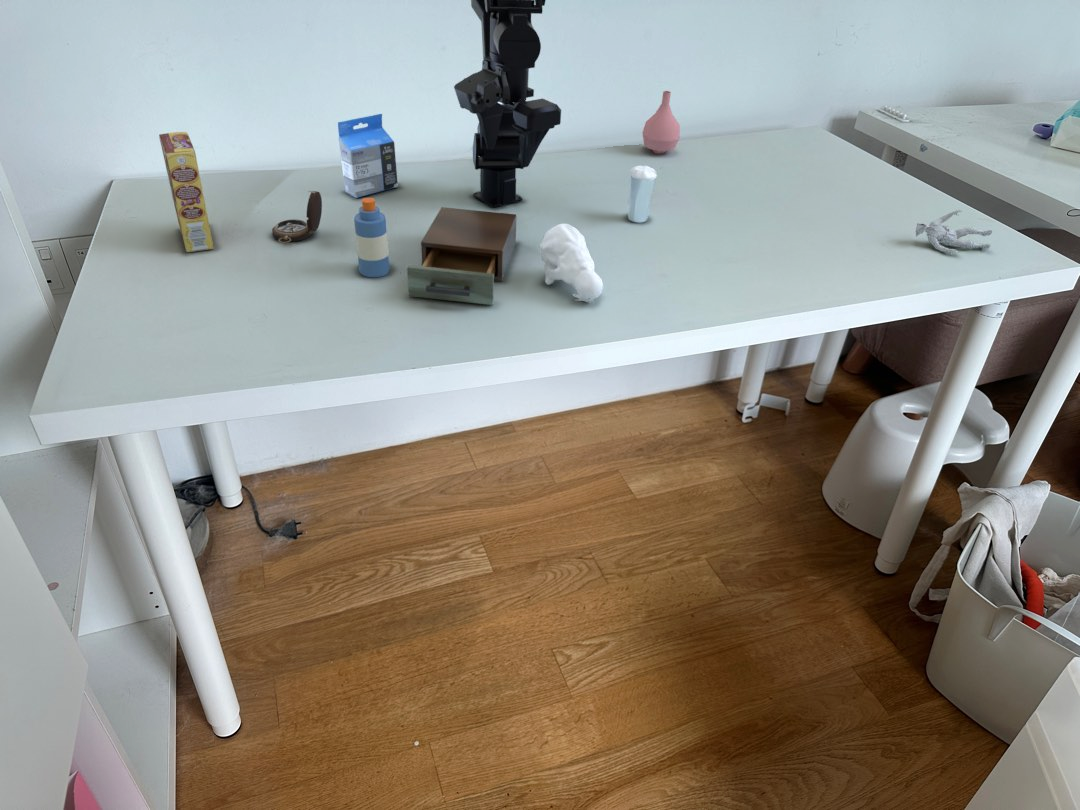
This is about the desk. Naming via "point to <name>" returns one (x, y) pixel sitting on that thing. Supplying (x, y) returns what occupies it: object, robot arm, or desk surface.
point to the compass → (301, 222)
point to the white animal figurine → (570, 261)
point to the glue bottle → (371, 240)
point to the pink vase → (662, 128)
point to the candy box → (186, 190)
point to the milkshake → (640, 192)
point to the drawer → (454, 276)
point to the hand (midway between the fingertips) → (507, 157)
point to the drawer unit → (473, 234)
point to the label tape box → (367, 156)
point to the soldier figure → (950, 235)
